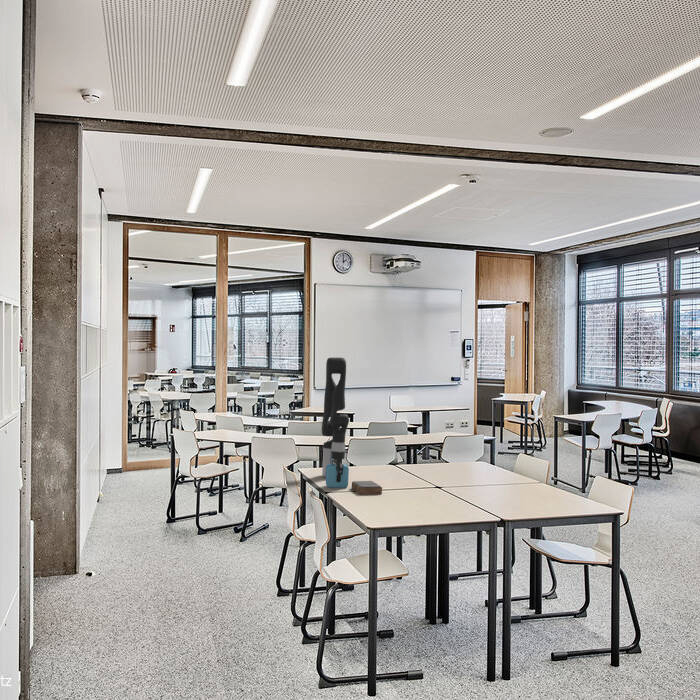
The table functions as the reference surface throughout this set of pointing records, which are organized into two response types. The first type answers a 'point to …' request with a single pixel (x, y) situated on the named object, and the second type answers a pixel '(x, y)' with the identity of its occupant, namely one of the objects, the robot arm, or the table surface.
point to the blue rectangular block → (332, 477)
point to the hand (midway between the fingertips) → (337, 480)
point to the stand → (366, 487)
